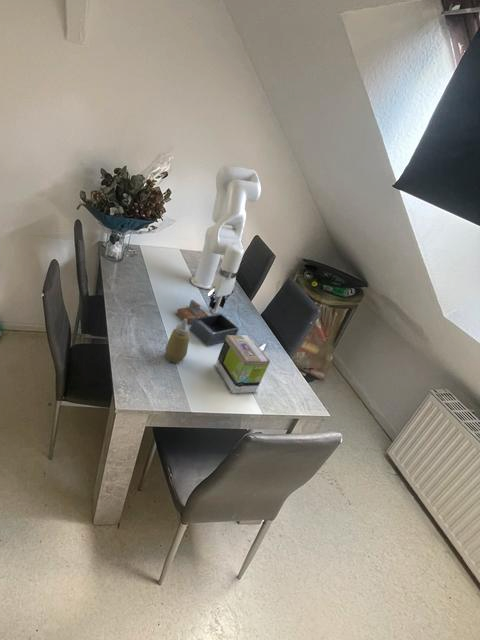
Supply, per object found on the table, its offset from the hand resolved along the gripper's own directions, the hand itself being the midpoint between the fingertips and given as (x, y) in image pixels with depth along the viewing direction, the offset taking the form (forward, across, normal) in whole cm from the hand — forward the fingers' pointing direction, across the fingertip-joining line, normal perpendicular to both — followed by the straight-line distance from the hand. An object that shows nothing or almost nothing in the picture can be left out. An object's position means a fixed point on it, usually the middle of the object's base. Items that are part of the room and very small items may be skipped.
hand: (216, 306), depth 179 cm
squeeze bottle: (+3, +39, +22) cm, 45 cm away
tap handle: (0, +14, 0) cm, 14 cm away
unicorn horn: (+3, +6, +32) cm, 33 cm away
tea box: (+3, +23, +39) cm, 45 cm away
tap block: (+3, +14, 0) cm, 14 cm away
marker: (+3, 0, 0) cm, 3 cm away
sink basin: (+3, +13, +14) cm, 19 cm away
